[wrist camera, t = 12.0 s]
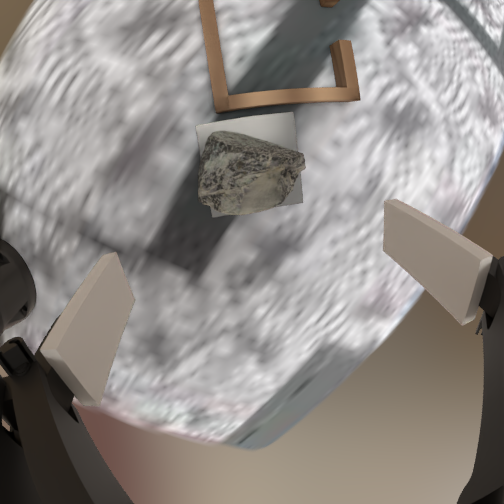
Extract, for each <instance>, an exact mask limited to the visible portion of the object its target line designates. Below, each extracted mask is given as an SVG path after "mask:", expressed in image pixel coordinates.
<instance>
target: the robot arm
mask: <svg viewBox="0 0 504 504" xmlns="http://www.w3.org/2000/svg"><path fill="white" fill-rule="evenodd" d="M383 251H384V252H385V253H386V254H387V255H389V256H390V257H391V258H392V259H393V260H394V261H395V262H397V263H398V264H399V265H400V266H401V267H402V268H403V269H404V270H405V271H407V272H408V273H409V274H410V275H411V276H412V277H413V278H414V279H415V280H416V281H417V282H419V283H420V284H421V285H422V286H423V287H424V288H425V289H426V290H427V291H428V292H429V293H430V294H431V295H432V296H433V297H434V298H435V299H436V300H437V301H438V302H439V303H440V304H441V305H443V307H444V308H445V309H446V310H447V311H449V313H450V314H451V315H452V316H453V317H454V318H455V319H456V320H457V321H458V322H459V323H460V324H461V325H464V324H466V323H468V322H470V321H472V320H474V319H475V316H476V313H477V310H478V307H479V306H480V307H481V308H482V309H483V310H484V311H483V314H482V317H481V320H480V322H479V325H478V327H477V330H476V334H477V335H478V333H479V330H480V329H481V328H482V333H481V335H483V349H484V392H483V408H482V419H481V428H480V435H479V442H478V448H477V454H476V459H475V464H474V469H473V473H472V476H471V478H470V480H469V482H468V483H467V485H466V486H465V488H464V489H463V491H462V493H461V495H460V497H459V499H458V502H457V504H504V256H503V257H501V258H500V259H499V260H498V259H496V258H495V257H494V256H493V255H491V254H490V253H489V252H487V251H486V250H484V249H482V248H481V247H480V246H478V245H476V244H475V243H473V242H472V241H470V240H469V239H467V238H465V237H464V236H462V235H461V234H459V233H457V232H456V231H454V230H452V229H451V228H449V227H447V226H445V225H444V224H442V223H440V222H438V221H437V220H435V219H433V218H431V217H430V216H428V215H426V214H424V213H422V212H420V211H419V210H417V209H415V208H413V207H411V206H409V205H407V204H405V203H403V202H401V201H399V200H397V199H393V200H386V201H384V239H383ZM35 302H36V292H35V286H34V282H33V279H32V276H31V274H30V272H29V270H28V268H27V266H26V264H25V262H24V261H23V259H22V258H21V257H20V255H19V254H18V253H17V252H16V250H15V249H14V248H13V247H11V246H10V245H9V244H8V243H6V242H5V241H3V240H0V335H1V334H2V333H3V331H5V330H6V329H8V328H10V327H12V326H13V325H15V324H17V323H19V322H21V321H22V320H24V319H25V318H26V317H27V316H28V315H29V314H30V312H31V311H32V310H33V308H34V306H35ZM134 302H135V298H134V296H133V293H132V291H131V288H130V286H129V284H128V281H127V279H126V276H125V274H124V271H123V268H122V266H121V263H120V260H119V258H118V255H117V252H113V253H109V254H105V255H103V256H102V257H101V258H100V260H99V261H98V262H97V264H96V265H95V266H94V268H93V269H92V270H91V272H90V273H89V274H88V276H87V277H86V279H85V280H84V281H83V283H82V284H81V286H80V287H79V288H78V290H77V291H76V293H75V294H74V296H73V297H72V299H71V300H70V302H69V303H68V305H67V306H66V308H65V309H64V311H63V312H62V314H61V315H60V316H59V317H58V318H57V319H56V320H55V322H54V323H53V325H52V326H51V329H50V330H49V331H48V333H47V336H45V338H44V339H43V341H42V343H41V345H40V346H39V348H38V350H37V351H36V353H35V355H33V354H32V352H31V351H30V349H29V348H28V346H27V345H26V343H25V342H24V340H23V339H22V338H21V337H14V338H12V339H10V340H8V341H7V342H6V343H4V344H3V345H2V346H1V348H0V365H1V366H2V367H3V369H4V370H5V371H6V373H7V374H8V375H9V376H8V377H4V378H2V377H1V375H0V504H134V503H133V502H132V500H130V498H129V496H128V495H127V494H126V492H125V491H124V490H123V488H122V487H121V485H120V484H119V483H118V481H117V480H116V478H115V477H114V475H113V474H112V472H111V470H110V469H109V467H108V466H107V464H106V463H105V461H104V459H103V458H102V456H101V454H100V453H99V451H98V449H97V447H96V446H95V444H94V442H93V440H92V438H91V437H90V435H89V433H88V431H87V429H86V427H85V425H84V423H83V421H82V419H81V417H80V415H79V413H78V411H77V409H76V408H75V407H74V405H73V404H72V400H73V397H74V396H75V397H76V398H77V399H78V400H79V402H80V403H81V404H82V405H83V406H100V404H101V400H102V397H103V393H104V390H105V386H106V383H107V380H108V376H109V373H110V370H111V367H112V364H113V361H114V358H115V355H116V352H117V349H118V346H119V343H120V340H121V337H122V334H123V332H124V329H125V326H126V323H127V321H128V318H129V315H130V313H131V310H132V307H133V305H134ZM2 419H3V420H4V421H5V422H6V423H7V424H8V425H9V426H10V432H9V431H8V430H7V429H6V428H5V427H3V426H2Z"/></svg>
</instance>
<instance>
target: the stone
mask: <svg viewBox="0 0 504 504" xmlns="http://www.w3.org/2000/svg"><path fill="white" fill-rule="evenodd" d="M305 168H306V166H305V159H304V155H303V153H300V152H297V151H295V150H291V149H287V148H285V147H283V146H282V145H277V144H273V143H271V142H269V141H264V140H261V139H257V138H254V137H251V136H248V135H244V134H239V133H236V132H229V131H215V132H213V133H212V134H211V135H210V136H209V137H208V139H207V141H206V143H205V149H204V151H203V153H202V156H201V159H200V166H199V174H198V188H199V190H198V194H199V196H198V201H199V202H202V203H203V204H205V205H209V206H210V207H211V208H212V209H214V210H215V211H217V212H221V213H225V214H230V215H245V214H251V213H256V212H261V211H264V210H268V209H271V208H273V207H275V206H276V205H280V204H281V203H282V202H284V201H285V198H286V197H287V196H288V195H289V193H290V192H291V191H293V187H294V184H295V181H296V179H297V178H298V174H299V172H301V171H302V170H304V169H305Z"/></svg>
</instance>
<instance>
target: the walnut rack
mask: <svg viewBox="0 0 504 504" xmlns="http://www.w3.org/2000/svg"><path fill="white" fill-rule="evenodd" d="M319 1H320V5H321V6H322V7H333V6H334V5H335V4H336V3H337V2H338V1H339V0H319ZM199 7H200V13H201V20H202V27H203V34H204V40H205V47H206V53H207V60H208V66H209V73H210V79H211V85H212V92H213V98H214V104H215V110H216V113H222V112H228V111H234V110H241V109H248V108H256V107H265V106H274V105H285V104H298V103H316V102H351V101H359V100H360V92H359V85H358V78H357V72H356V66H355V60H354V55H353V49H352V44H351V41H348V40H338V41H336V42H335V43H333V44H332V45H330V51H331V56H332V62H333V68H334V74H335V80H336V87H333V88H298V89H283V90H271V91H261V92H252V93H244V94H237V95H230V96H228V91H227V85H226V79H225V72H224V66H223V60H222V53H221V47H220V41H219V35H218V28H217V22H216V16H215V10H214V4H213V0H199Z"/></svg>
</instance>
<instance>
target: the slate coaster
mask: <svg viewBox="0 0 504 504" xmlns="http://www.w3.org/2000/svg"><path fill="white" fill-rule="evenodd" d="M195 127H196V133H197V138H198V144H199V150H200V155H201V156H202V153H203V151H204V149H205V143H206V141H207V139H208V137H209V136H210V135H211V134H212V133H213V132H215V131H229V132H236V133H239V134H244V135H248V136H251V137H254V138H257V139H261V140H264V141H269V142H271V143H273V144H277V145H282V146H283V147H285V148H287V149H291V150H295V151H297V152H298V147H297V138H296V130H295V123H294V115H293V112H287V113H276V114H267V115H258V116H251V117H243V118H237V119H230V120H224V121H218V122H213V123H207V124H202V125H197V126H195ZM298 203H303V194H302V184H301V174H300V172H299V174H298V178H297V179H296V181H295V184H294V187H293V191H291V192H290V193H289V195H288V196H287V197H286V198H285V201H284V202H282V203H281V204H280V205H276V206H275V207H279V206H285V205H292V204H298ZM210 208H211V207H210ZM211 213H212V218H214V217H219V216H225V215H230V214H225V213H221V212H217V211H215V210H214V209H212V208H211Z"/></svg>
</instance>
